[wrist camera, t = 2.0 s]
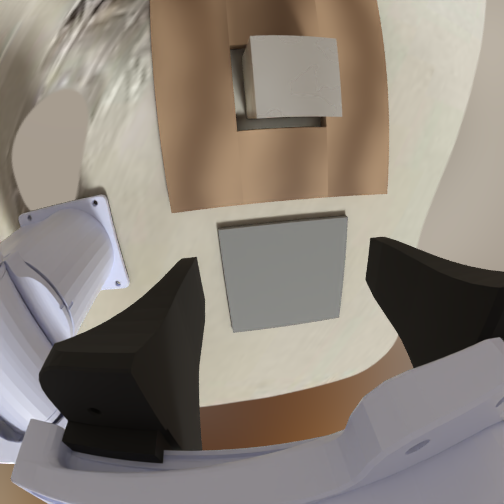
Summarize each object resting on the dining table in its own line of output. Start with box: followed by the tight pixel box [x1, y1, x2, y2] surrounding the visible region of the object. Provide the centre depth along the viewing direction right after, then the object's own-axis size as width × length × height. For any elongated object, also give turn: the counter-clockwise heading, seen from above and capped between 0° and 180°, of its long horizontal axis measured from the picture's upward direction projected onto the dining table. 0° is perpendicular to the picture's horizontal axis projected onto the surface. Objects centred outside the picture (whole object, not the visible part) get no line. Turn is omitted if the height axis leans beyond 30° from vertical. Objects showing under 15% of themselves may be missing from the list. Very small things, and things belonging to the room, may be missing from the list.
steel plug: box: [242, 35, 342, 119], centre depth 15 cm, size 4×4×6 cm
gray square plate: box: [218, 216, 348, 333], centre depth 24 cm, size 10×10×1 cm
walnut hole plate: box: [150, 0, 389, 213], centre depth 17 cm, size 16×16×1 cm
